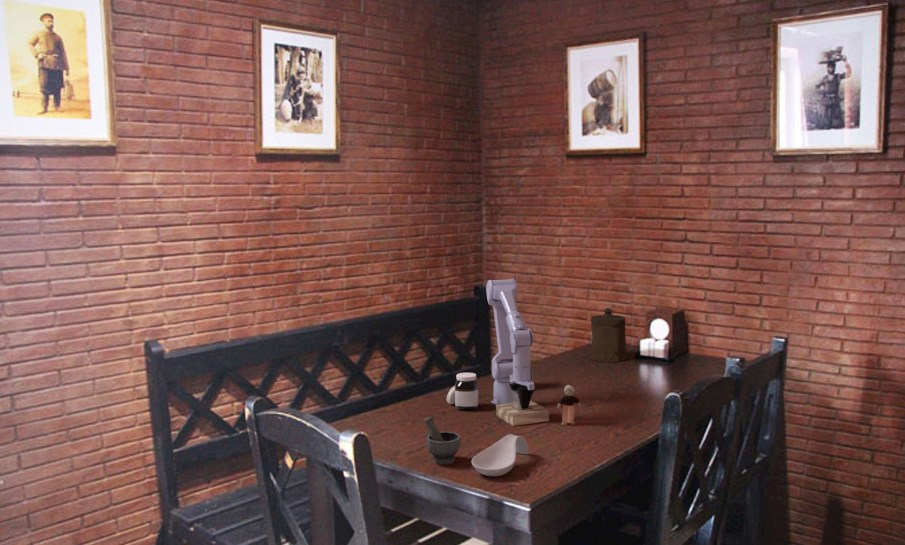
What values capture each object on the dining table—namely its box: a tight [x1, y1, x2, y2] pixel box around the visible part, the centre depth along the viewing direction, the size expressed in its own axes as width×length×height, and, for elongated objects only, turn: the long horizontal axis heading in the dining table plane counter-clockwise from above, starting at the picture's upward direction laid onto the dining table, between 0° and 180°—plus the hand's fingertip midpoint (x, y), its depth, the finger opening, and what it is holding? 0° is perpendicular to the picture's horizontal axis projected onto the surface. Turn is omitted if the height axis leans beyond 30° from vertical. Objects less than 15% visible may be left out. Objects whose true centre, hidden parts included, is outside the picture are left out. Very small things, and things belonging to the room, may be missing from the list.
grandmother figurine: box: [556, 384, 582, 426], centre depth 258 cm, size 8×4×13 cm, turn 105°
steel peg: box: [512, 390, 529, 411], centre depth 265 cm, size 4×4×8 cm
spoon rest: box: [471, 434, 531, 478], centre depth 222 cm, size 24×12×7 cm, turn 150°
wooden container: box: [590, 308, 627, 363], centre depth 349 cm, size 15×15×22 cm
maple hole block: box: [495, 400, 550, 427], centre depth 266 cm, size 13×13×4 cm
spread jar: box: [446, 372, 479, 411], centre depth 280 cm, size 12×11×12 cm
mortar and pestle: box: [423, 416, 462, 465], centre depth 227 cm, size 11×9×12 cm
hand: (522, 406), depth 265 cm, fingers closed on steel peg, 4 cm apart
